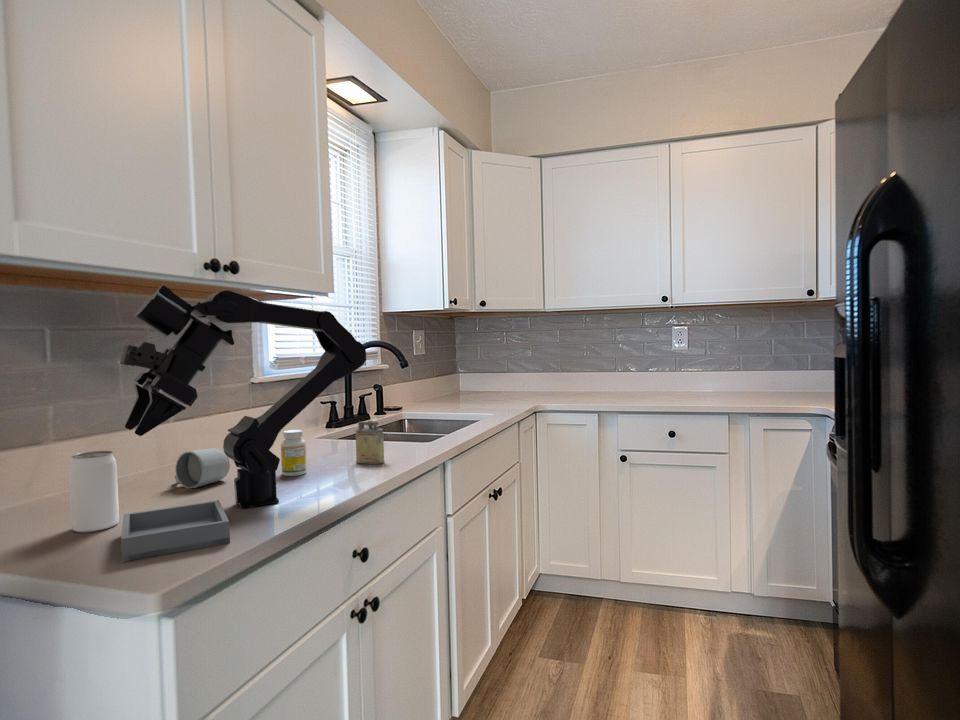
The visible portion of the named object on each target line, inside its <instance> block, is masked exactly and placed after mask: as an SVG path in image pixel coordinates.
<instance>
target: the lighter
mask: <svg viewBox="0 0 960 720" xmlns="http://www.w3.org/2000/svg"><path fill="white" fill-rule="evenodd" d="M357 424H358V428H356V429H355V456H356V457H355V459H356V460H355V463H357V464H365V465H367V464H375V465H377V464H382V463H383V464H384V463H385V449H384V448H385V444H384V429H383V428H379V427H377V426H378V425H379V421H374V420H367V421H363V420H362V421H358V422H357ZM366 425H367V426H368V427H365V426H366Z"/></svg>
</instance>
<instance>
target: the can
mask: <svg viewBox="0 0 960 720" xmlns="http://www.w3.org/2000/svg"><path fill="white" fill-rule="evenodd" d="M68 466H69V467H68V480H69V498H70V501H69V502H70V517H71V518H70V519H71V530H72V531H74V532H75V533H80V534H86V533H88V534H89V533H96V532H102V531H104V530H108V529H112V528H113V527H115V526H116V525H117V524H118V523H119V522H120V514H119V513H120V510H119V489H118V488H119V487H118V465H117V459H115V457H114V452H113V451H112V450H95V451H94V450H93V451H86V452H80V453H75V454H73V455H71V460H70V463H69V465H68Z"/></svg>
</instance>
